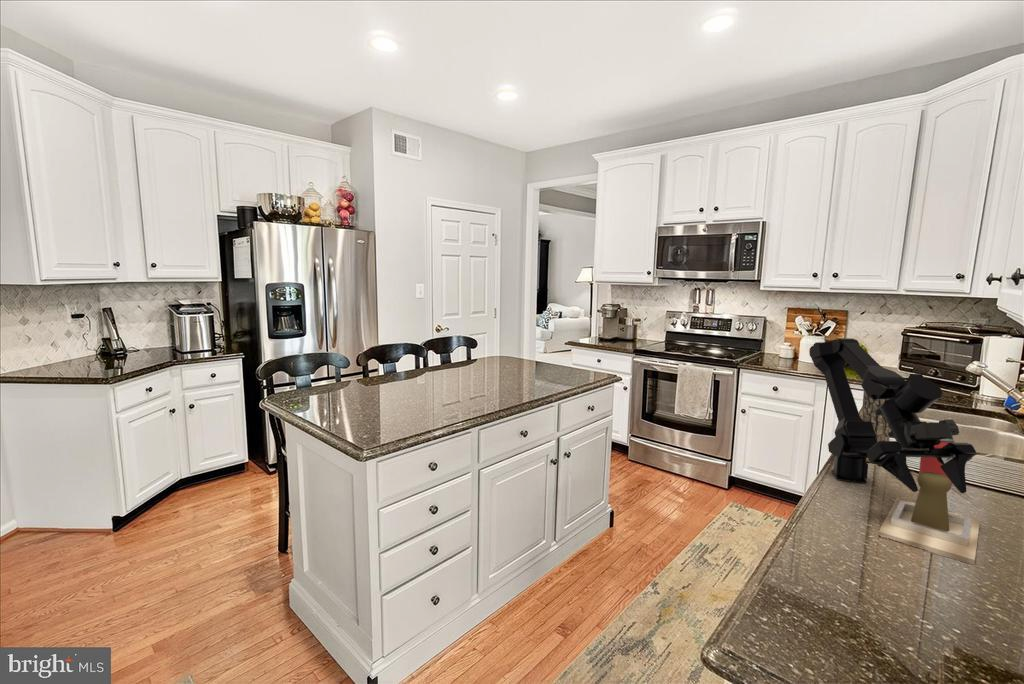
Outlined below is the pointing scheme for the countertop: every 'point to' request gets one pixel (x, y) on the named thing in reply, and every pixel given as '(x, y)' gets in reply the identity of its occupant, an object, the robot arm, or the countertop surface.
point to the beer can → (934, 461)
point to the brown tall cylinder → (875, 417)
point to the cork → (932, 501)
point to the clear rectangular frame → (931, 531)
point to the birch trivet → (933, 543)
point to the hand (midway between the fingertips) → (939, 491)
